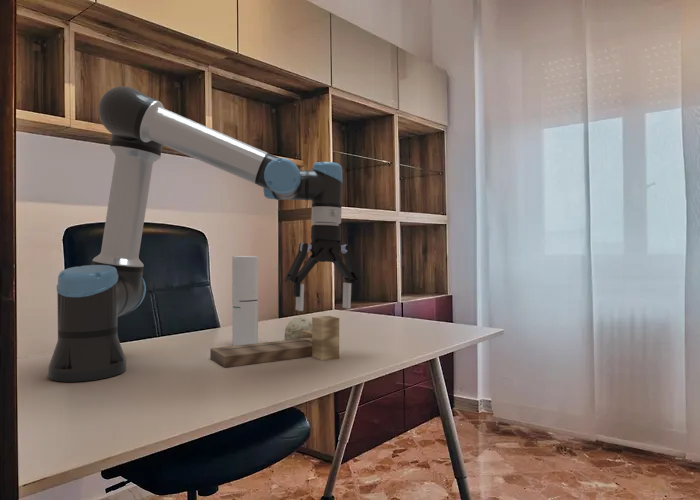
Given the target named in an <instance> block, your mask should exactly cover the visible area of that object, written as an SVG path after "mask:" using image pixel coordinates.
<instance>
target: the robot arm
mask: <svg viewBox="0 0 700 500" xmlns="http://www.w3.org/2000/svg"><path fill="white" fill-rule="evenodd" d="M98 117H99V120H100V122H101V124H102V125H103V127H104V128H105V129H106V131H108V132H109V133H110V134H111V138H110V144H109V149H110V151H111V152H112V153H113V154H114V163H113V164H114V165H113V169H112V171H113V172H112V176H111V185H110V190H109V195H108V196H109V197H108V202H107V210H106V217H105V223H104V230H103V236H102V243H101V249H100V250H101V251H100V253H99V254H98V255H96V256H95V257H93V259H92V262H91V265H90V264H89V265H80V266H72V267H68V268H66V269H63V270H62V271H60V272H59V273H58V275H57V285H56V294H57V296H56V297H57V342H56V345H55V348H54V350H53V353H52V356H51V357H50V358H51V359H50V362H49V365H48V368H47V369H48V376H47V377H48V379H49V380H52V381H56V382H63V383H64V382H71V383H73V382H87V381H96V380H102V379H107V378H111V377H115V376H117V375H120V374H123V373H124V372H126V371H127V359H126V356H125V353H124V350H123V348H122V344H121V341H120V339H119V336H118V334H119V333H118V318H119V317H123V316H125V315H128V314H130V313H132V312H133V311H135V310H136V309H137V308H138V307H139V306H140V305H141V304H142V302H143V301H144V299H145V297H146V293H147V286H146V282H145V279H144V278H143V275H144V274H143V273H144V263H143V262H142V261H141V260H140V258H139V256H140V250H141V242H142V236H143V230H144V223H145V218H146V217H145V216H146V210H147V205H148V204H147V203H148V197H149V191H150V184H151V178H152V173H153V166H154V163H155V162H157V161H158V160H161V156H162V155H161V154H162V150H163V149H162V148H163V147H164V146H165V147H167V148H169V149H172V150H174V151H176V152H178V153H181V154H182V155H183V154H184V155H186V156H187V157H191V158H194V159H195V160H198V161H200V162H203V163H204V164H207V165H209V166H212V167H214V168H217V169H218V170H219V169H220V170H222V171H224V172H226V173H229V174H231V175H234V176H236V177H238V178H241V179H243V180H246V181H248V182H250V183H252V184H255V185H257V186H259V187H262V188H263V194H264V195H263V196H264V197H265V198H266V199H269V200H276V201H280V200H281V201H282V200H285V201H288V200H289V201H311V218H310V219H311V221H310V222H311V223H312V224H313V225H311V226H310V240H311V241H310V244H309V243H307V242H300V243H299V244H298V251H297V254H296V256H295V258H294V260H293V262H292V264H291V266H290V269H289V271H288V272H287V275H286V277H285V280H286V281H288V282H291V283H292V286H293V287H292V290H293V291H292V295H293V297H294V298H295V311H299V312H303V311H304V304H305V303H304V301H305V297H304V295H305V284H304V283H302V282H303V281H304V280H305V278H306V277H307V275H308V274H309V273H310V272H311V270H312V269H313V268H314V267H315V266H316V265H317V264H318V263H319V262H320V263H321V262H322V263H325V262H327V263H328V262H329V263H333V264H334V266H335V267H336V268H337V270H338V271H339V273H340V275H341V276H342V277H343V279H344V280H345V282H343V283H342V308H344V309H348V310H349V309H351V306H352V305H351V302H352V301H351V300H352V296H353V295H354V286H355V285H354V284H356V283H357V281H360V280H361V275H360V273H359V270H358V266H357V264H356V262H355V260H354V256H353V254H352V246H351V245H350V244H342V245H341V244H340V243H341V239H342V238H341V237H342V228H341V226H340V224H342V208H343V207H342V204H343V203H342V202H343V184H344V183H343V182H344V181H343V180H344V179H343V167H342V165H341V164H339V163H338V162H333V161H319V162H318V161H317V162H314V164H313V165H312V169H310V170H308V169H307V170H303V169H299V167H298V165H297V164H295V162H294V161H292V160H291V159H288V158H286V157H278V156H277V155H274V154H271V153H269V152H268V151H267V152H266V151H264V150H262V149H260V148H258V147H255V146H253V145H251V144H248V143H246V142H244V141H241V140H239V139H236V138H234V137H232V136H230V135H227V134H225V133H222V132H220V131H218V130H216V129H213V128H211V127H208V126H206V125H204V124H202V123H199V122H196V121H195V120H192V119H190V118H187V117H185V116H183V115H180V114H179V113H176V112H173V111H171V110H168V109H167V108H165V106H164V105H163V103H162V102H161V101H160V100H158V99H155V98H153V97H152V96H151V97H150V96H149V95H147V94H144V93H143V92H141V91H140V90H138V89H136V88H134V87H131V86H125V85H124V86H123V85H121V86H115V87H113V88H111V89H109V90H108V91H106V92H105V93H104V94H103V95H102V97H101V99H100V100H99V104H98ZM309 251H310V253H311V254H310V256H309V257H308V258H307V260H306V262H305V263H304V261H305V258H306V257H307V254H308V253H309ZM340 252H341V254H342V257H343V259H344V261H345V263H344V262H343V259H342V257H341V256H340ZM303 263H304V264H303ZM345 264H346V265H345ZM302 265H303V266H302Z"/></svg>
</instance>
